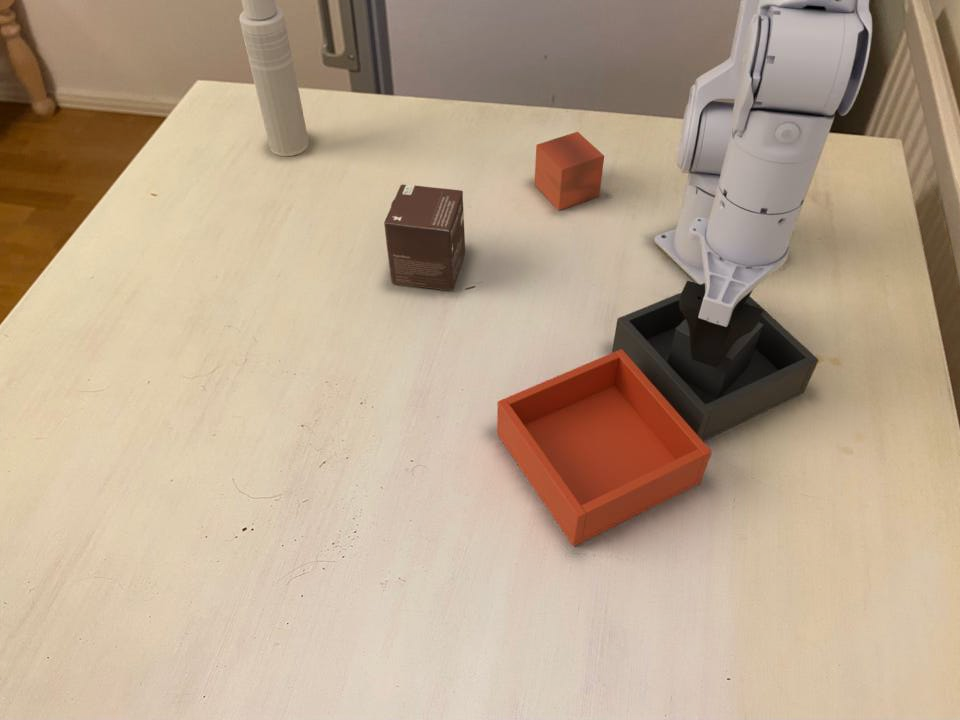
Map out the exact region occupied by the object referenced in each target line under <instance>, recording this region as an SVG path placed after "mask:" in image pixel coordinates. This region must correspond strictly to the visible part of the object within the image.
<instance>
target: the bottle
mask: <svg viewBox="0 0 960 720" xmlns="http://www.w3.org/2000/svg"><path fill="white" fill-rule="evenodd" d="M240 1H241V6H242V10H243V11H242V12H241V13H240V14H239V18H238V21H239V25H240V28H241V33H242V36H243V40H244V45H245V49H246V53H247V58H248V62H249V66H250V69H251V73H252V75H251V76H252V79H253V83H254V87H255V92H256V95H257V100H258V104H259V108H260V113H261V118H262V121H263V125H264V129H265V134H266V138H267V143H268V146H269V149H270V151H271V152H272V153H273V154H275V155H277V156H279V157H293V156H297V155H300V154H301V153H303V152H304V151H306V150H307V149H308V147H309V143H310V142H309V141H310V140H309V136H308V131H307V125H306V121H305V115H304V111H303V110H304V109H303V106H302V101H301V99H302V98H301V95H300V90H299V84H298V79H297V75H296V69H295V64H294V60H293V54H292V49H291V48H292V47H291V43H290V38H289V33H288V27H287V22H286V18H285V12H284V11H283V9H282V8H280V7H279V6H277V3H276V0H240Z"/></svg>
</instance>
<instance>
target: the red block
mask: <svg viewBox="0 0 960 720" xmlns="http://www.w3.org/2000/svg"><path fill="white" fill-rule="evenodd" d="M604 163H605V155H604V154H603V153H602V152H601V151H600V150H599V149H597V147H595V146H594V144H592V143H591V142H590V141H589V140H588V139H586V138H585V136H583V134H581V133H580V132H579V131H575V132H572V133H569V134H568V133H567V134H566V135H562V136H559V137H556V138H553V139H550V140H546V141H544V142H540V143H537V144H536V146H535V165H534V166H535V167H534V183H533V184H534V186H535V187H536V188H537V189H538V190H539V191H540V192H541V194H542V195H544V197H545V198H546V199H547V200H548V201H549V202H550V203H551V204H552V205H553V206H554V207H555V208H556V209H557V210H558V211H561V210H564V209H567V208H570V207H573V206H576V205H579V204H581V203H584V202H587V201H590V200H592V199H596V198H598V197H600V195H601V194H600V193H601V186H602V180H603V179H602V177H603V172H604V171H603V169H604Z"/></svg>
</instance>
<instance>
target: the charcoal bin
mask: <svg viewBox="0 0 960 720" xmlns="http://www.w3.org/2000/svg"><path fill="white" fill-rule="evenodd" d="M701 285H704V286H705V283H703V284H701ZM680 295H681V292H679V293H677V294H674V295H671V296H669V297H667V298H664V299H661V300H660V301H657V302H654V303H652V304H649V305H647V306H645V307H642V308H639V309H637V310H635V311H633V312H630V313H627V314H625V315H623V316H619V317H617V319H616V323H615V325H616V326H615V332H614V337H613V343H612V350H611V353H613V352H616V351H618V350H621V349H622V350H623V351H624V352H625V353H626V354H627V355H628V357H629V358H630V359H631V360H632V361H633V362H634V363H635V365H636V366H637V367H638V368H639V369H640V370H641V371H642V373H643V374H644V375H645V376H646V377H647V378H648V379H649V381H650V382H651V383H652V384H653V385H654V386H655V387H656V389H657V390H658V391H659V392H660V393H661V394H662V395H663V396H664V398H665V399H666V400H667V401H668V402H669V403H670V404H671V406H672V407H673V408H674V409H675V410H676V411H677V412H678V414H679V415H680V416H681V417H682V418H683V419H684V420H685V422H686V423H687V424H688V425H689V426H690V427H691V428H692V429H693V431H694V432H695V433H696V434H697V435H698V436H699V437H700V439H701V440H702V441H703V442H704V441H706V440H708V439H710V438H713V437H714V436H717V435H719V434H721V433H723V432H725V431H727V430H729V429H731V428H733V427H736V426H738V425H740V424H741V423H744V422H746V421H748V420H750V419H752V418H754V417H756V416H758V415H760V414H763V413H764V412H766V411H769V410H770V409H773V408H775V407H777V406H779V405H781V404H783V403H785V402H787V401H790V400H791V399H794V398H795V397H798V396H800V395H801V394H804V393H805V392H806V390H807V387H808V385H809V383H810V380H811V378H812V377H813V374H814V372H815V370H816V367H817V365H818V363H819V360H820V359H818V358H817V357H816V356H815V355H814V353H812V352H811V351H810V350H809V349H808V348H807V347H805V345H804V344H802V343H801V342H800V341H799V340H798V338H796V337H794V335H792V333H790V331H788V329H786V328H785V327H784V326H783V325H782V324H781V323H780V322H779V321H777V320H776V319H775V317H774V316H772V315H771V314H769V313H768V311H767V310H766V309H764V307H762V306H761V305H760V304H759V303H758V301H756V300H755V299H754V298H753V297H752V296H751V295H750V296H749V297H748V299H747V300H746V301H745V303H744V304H747V305H751V306H754V307H757V308H760V309H763V313H762V315H761V318H760V320H759V322H760V323H762V324H763V327H762V330H761V333H760V336H759V338H758V341H757V344H756V347H755V349H754V352H753V355H752V358H751V360H750V363H749V366H748V367H747V368H746V369H745V370H744V371H743V372H742V373H741V375H740V376H739V377H738V378H737V379H736V380H735V381H734V382H733V384H732V385H731V386H730V387H729V388H728V389H727V390H726V391H725V392H724V394H723V395H722V396H721V397H720V398H719V399H715V398H713V397H712V396H710V395H708V394H707V393H705V392H703V391H702V390H700V389H698V388H697V387H695V386H693V385H691V384H690V383H688V382H686V381H685V380H683V379H682V378H681V377H680V376H679V375H678V374H677V373H676V372H675V371H674V370H673V368H672V367H671V366H670V365H669V364H668V359H669V355H670V351H671V347H672V343H673V339H674V335H675V331H676V328H677V327H678V326H679V325H680V324H681V323H682V322H683V321H684V320H685V319H686V318H685V317H684V315H683V313H682V312H681V310H680V308H679V299H680Z"/></svg>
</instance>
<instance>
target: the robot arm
mask: <svg viewBox="0 0 960 720" xmlns="http://www.w3.org/2000/svg"><path fill="white" fill-rule="evenodd" d="M872 17H873V16H872V13H871V11H870V0H740V5H739V9H738V14H737V20H736V25H735V29H734V34H733V35H734V36H733V40H732V46H731V51H730V54H729V55H730V56H729V57H728V59H726V60H725V61H723V62H722V63H720V64H718V65H717V66H715V67H713V68H711V69H710V70H708V71H706V72H704V73H702V74H701V75H700V76H698V77H697V78H696V79H695V81H694V84H693V85H691V87H690V91H689V96H688V101H687V104H686V106H685V110H684V113H683V119H682V124H681V130H680V134H679V135H680V136H679V141H678V149H677V155H676V156H677V157H676V166H677V167H678V168H679V169H680V172H681V173H683V174H687V179H686V182H685V188H684V192H683V197H682V202H681V205H680V209H679V210H680V211H679V215H678V220H677V224H676V228H673V229H670V230H668V231H665V232H663V233H659V234H657V235H655V236H654V239H653V241H654V243H655V244H656V245H657V246H658V247H659V248H660V249H661V250H662V251H663V252H664V253H666V255H667V256H668V257H670V259H672V260H673V261H674V263H676V264H677V265H678V266H679V267H680V268H681V269H682V270H683V271H684V272H685V273H686V274H687V275H688V276H689V277H690V278H691V279H692V280H694V281H695V282H694V281H690V280H686V282H685V285H684V286H683V289H682V290H681V292H680V293H681V295H680V299H679V308H680V310H681V312H682V313H683V315H684V317H685V318H686V321H687V324H688V327H689V333H690V351H691V358H692V360H695V361H698V362H701V363H704V364H707V365H710V366H713V367H718V365H719V364H720V363H721V362H722V361H723V360H724V358H725V357H726V355H727V354H728V352H729V350H730V349H731V347H732V346H733V345H734V343H735V342H736V341H737V340H738V339H740V338H741V337H742V336H744V335H746V334H748V333H750V332H752V331H753V329H754V328H755V327H756V326H757V325H758V323H759V320H760V318H761V315H762V313H763V309H764V308H763V309H760V308H757V307H754V306H751V305H747V304H744V303H745V301H746V300H747V299H748V297H749V296H750V297H751V294H753V291H754V290H755V289H756V288H757V287H758V286H759V285H761V284H762V283H763V282H765V280H767V279H768V278H769V277H770V276H772V275H773V274H774V273H775V272H777V271H778V270H779V269H780V268H781V267H783V265H784V264H785V263H786V261H787V260H788V256H789V254H790V251H791V240H792V238H793V235H794V232H795V229H796V225H797V223H798V220H799V218H800V215H801V212H802V209H803V206H804V203H805V200H806V198H807V195H808V192H809V189H810V187H811V184H812V181H813V178H814V177H815V172H816V170H817V167H818V164H819V162H820V159H821V156H822V153H823V151H824V148H825V144H826V142H827V139H828V137H829V134H830V131H831V128H832V125H833V123H834V120H835V117H836V116H835V115H836V114H835V113H836V111H838V114H839V115H840V116H841V117H843V116H846V115H847V114H848V113H849V112H850V111H851V109H852V108H853V106H854V103H855V101H856V99H857V97H858V95H859V92H860V90H861V87H862V84H863V81H864V77H865V75H866V70H867V67H868V64H869V63H868V62H869V57H870V51H871V47H872V46H871V45H872V39H873V38H872V37H873V18H872ZM723 99H726V100H733V101H734V102H726V101H716V100H723ZM703 283H705V286H704V285H701V284H703Z"/></svg>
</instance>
